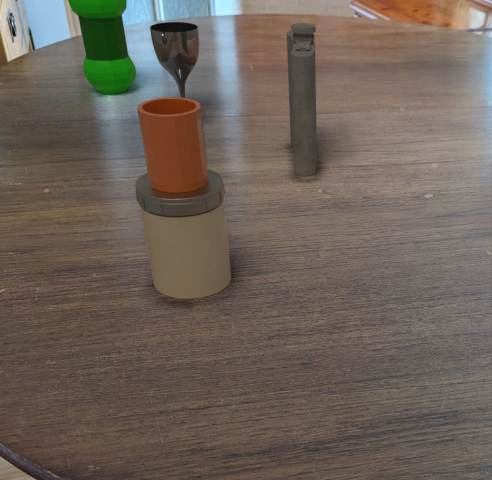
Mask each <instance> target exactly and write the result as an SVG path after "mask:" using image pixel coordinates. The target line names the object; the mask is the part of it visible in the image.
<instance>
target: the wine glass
mask: <svg viewBox="0 0 492 480" xmlns="http://www.w3.org/2000/svg"><path fill="white" fill-rule="evenodd" d="M149 31H150V37H151V43H152V46H153V50H154V53H155V55H156V56H155V57H156V59H157V61H158V63H159V64H160V65H161V67H162V68H163V69H164V70H165V71H166V72H167V73H168V74H169V75H170V76H171V77H172V78H173V80H174V81H175V83H176V86H177V88H178V92H179V97H180V98H186V82H187V80H188V77H189V76H190V75H191V73H192V71H193V70H194V68H195V67H196V65H197V63H198V60H199V57H200V56H199V55H200V34H199V33H200V32H199V26H198V25H197V24H195V23H191V22H184V21H165V22H158V23H155V24H152V25H150V26H149ZM201 112H202V120H203V119H205V117H206V114H205V112H203V111H201Z"/></svg>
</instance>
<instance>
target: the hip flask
mask: <svg viewBox="0 0 492 480" xmlns="http://www.w3.org/2000/svg"><path fill="white" fill-rule="evenodd" d="M316 29H317V26H316V25H315V24H313V23H308V22H296V23H292V24H290V30H288V31H287V32H286V51H287V52H286V53H287V54H286V55H287V77H288V79H287V81H288V83H287V84H288V104H289V105H288V106H289V107H288V109H289V133H290V145H291V146H292V148H293V161H294V163H293V164H294V166H293V167H294V174H295V175H296V176H298V177H311V176H314V175H315V174H316V171H317V168H318V167H317V166H318V146H317V145H318V144H317V143H318V142H317V139H318V138H317V137H318V136H317V135H318V134H317V85H316V84H317V81H316V80H317V77H316V73H317V72H316V71H317V70H316V44H315V40H316V39H315V34H314V33H316V32H317V30H316Z"/></svg>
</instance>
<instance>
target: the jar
mask: <svg viewBox="0 0 492 480" xmlns="http://www.w3.org/2000/svg"><path fill="white" fill-rule="evenodd" d="M225 207H226V206H225V199H224V200H223V202H222V203H221V204H220V205H218V206H217V207H215V208H213V209H211V210H209V211H206V212H203V213H199V214H194V215H187V216H166V215H159V214H154V213H151V212H148V211H146V210H144V209H143V208H142V207H141V206H140V205H139V209H140V215H141V221H142V226H143V232H144V238H145V245H146V248H147V254H148V260H149V265H150V271H151V277H152V284H153V287H154V288H155V290H156V291H157V292H159V293H160V294H162V295H164V296H165V297H169V298H173V299H181V300H194V299H202V298H207V297H210V296H212V295H215V294H218V293H220V292H222V291H223V290H225V289H226V288H227V287H229V285H230V283H231V281H232V269H231V268H232V267H231V257H230V248H229V238H228V227H227V217H226V210H225V209H226V208H225Z"/></svg>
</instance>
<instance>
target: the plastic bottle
mask: <svg viewBox="0 0 492 480" xmlns="http://www.w3.org/2000/svg"><path fill="white" fill-rule="evenodd" d="M127 1H128V0H67V2H68V4H69V6H70V9H71V11H72V12H73V13H74V14H75V15H76V16H77V17H78V22H79V28H80V33H81V37H82V42H83V43H82V44H83V49H84V53H85V56H84V58H83V63H82V69H83V74H84V76H85V78H86V80H87V82H88V83H89V84H90V85H91V86H92V87H93V88H94V89H96V90H97V91H99V92H100V93H102V94H105V95H117V94H123V93H125V92H127V91H128V88H130V87H131V86H132V85H133V83H134V82H135V80H136V77H137V69H136V66H135V64H134V62H133V60H132V58H131V57H130V55H129V51H128V44H127V37H126V32H125V26H124V20H123V14H124V12H125V11H126V10H127V6H128V5H127Z"/></svg>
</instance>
